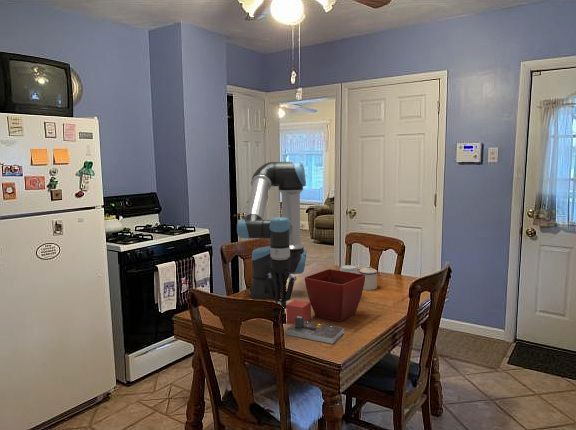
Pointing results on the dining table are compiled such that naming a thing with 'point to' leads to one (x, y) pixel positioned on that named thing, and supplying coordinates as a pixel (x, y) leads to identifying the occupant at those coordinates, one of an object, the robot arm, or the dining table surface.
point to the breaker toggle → (299, 321)
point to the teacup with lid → (369, 278)
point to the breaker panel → (316, 332)
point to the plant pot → (334, 293)
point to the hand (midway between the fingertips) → (281, 317)
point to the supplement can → (349, 268)
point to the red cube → (298, 310)
